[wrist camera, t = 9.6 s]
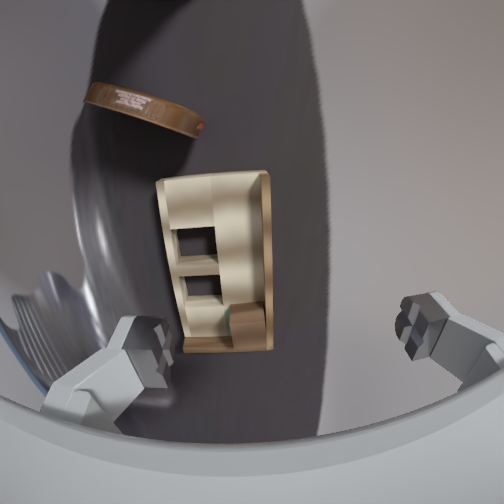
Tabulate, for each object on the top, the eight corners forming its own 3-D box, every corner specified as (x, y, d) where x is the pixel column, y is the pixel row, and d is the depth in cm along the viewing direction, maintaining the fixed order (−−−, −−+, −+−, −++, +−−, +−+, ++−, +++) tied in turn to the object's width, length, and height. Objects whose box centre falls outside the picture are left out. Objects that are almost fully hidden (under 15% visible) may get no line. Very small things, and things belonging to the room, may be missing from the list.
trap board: (162, 178, 32) (149, 185, 27) (265, 169, 33) (269, 175, 28) (189, 329, 42) (184, 352, 37) (269, 325, 42) (272, 349, 37)
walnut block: (230, 304, 37) (229, 324, 33) (262, 301, 37) (264, 320, 33) (234, 328, 39) (234, 349, 35) (264, 325, 39) (267, 346, 35)
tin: (102, 107, 28) (68, 103, 20) (111, 85, 27) (78, 76, 19) (201, 141, 31) (189, 143, 23) (212, 118, 30) (202, 112, 22)
